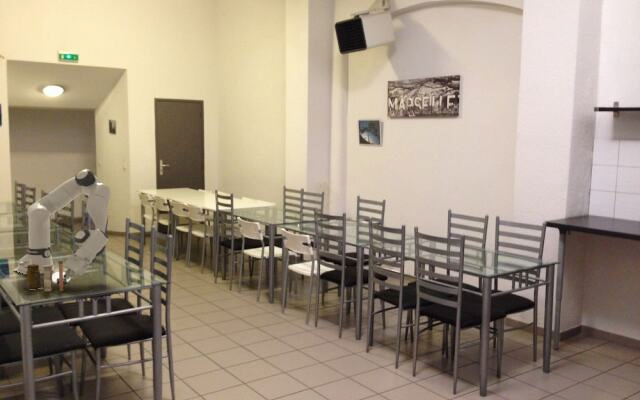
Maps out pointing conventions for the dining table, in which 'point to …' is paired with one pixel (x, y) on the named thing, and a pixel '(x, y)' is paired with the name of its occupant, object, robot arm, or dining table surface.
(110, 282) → the dining table surface
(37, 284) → the condiment
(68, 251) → the dining table surface
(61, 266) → the red l-shaped bracket
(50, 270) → the latch post
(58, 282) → the pivot base
